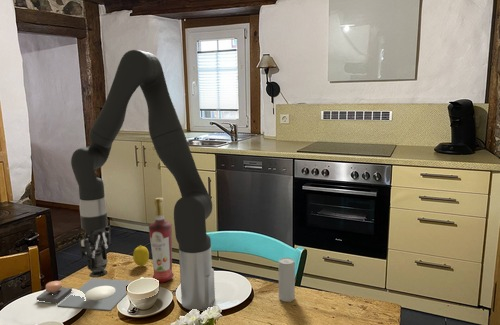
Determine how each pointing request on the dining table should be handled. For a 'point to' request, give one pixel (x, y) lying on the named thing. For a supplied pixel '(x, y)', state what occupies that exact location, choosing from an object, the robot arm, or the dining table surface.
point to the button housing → (54, 298)
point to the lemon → (141, 255)
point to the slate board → (98, 295)
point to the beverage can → (286, 279)
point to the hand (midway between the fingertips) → (97, 264)
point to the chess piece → (99, 263)
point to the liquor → (161, 244)
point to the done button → (53, 286)
